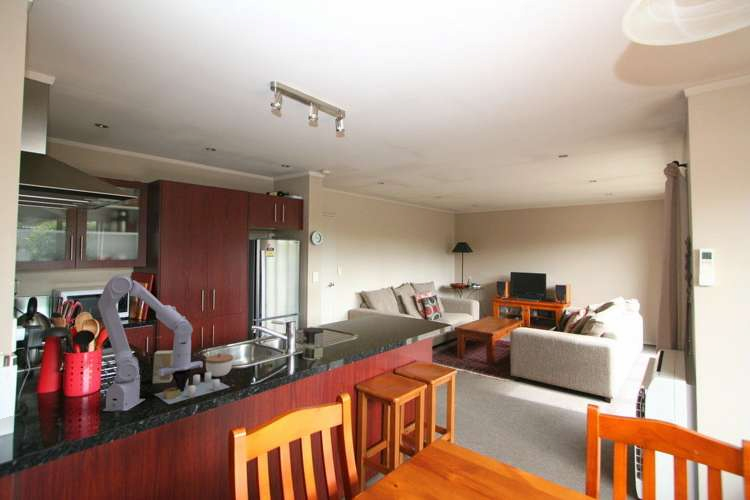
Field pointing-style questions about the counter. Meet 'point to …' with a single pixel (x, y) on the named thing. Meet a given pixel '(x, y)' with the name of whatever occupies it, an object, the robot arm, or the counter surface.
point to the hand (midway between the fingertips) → (180, 390)
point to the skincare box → (162, 366)
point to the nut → (171, 393)
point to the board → (196, 388)
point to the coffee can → (312, 343)
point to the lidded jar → (219, 364)
